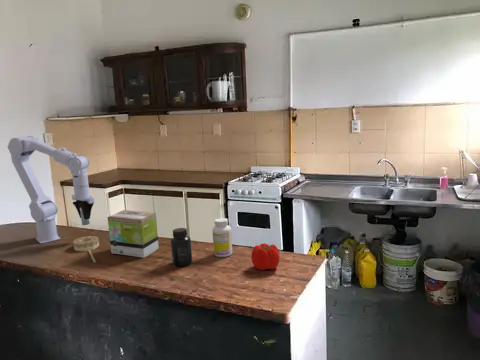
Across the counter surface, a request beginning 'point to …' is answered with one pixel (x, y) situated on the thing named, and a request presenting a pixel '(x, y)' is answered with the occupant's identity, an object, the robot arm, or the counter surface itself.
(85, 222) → the white-tipped blue cylinder
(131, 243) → the tea box
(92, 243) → the bead
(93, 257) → the strip
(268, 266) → the red bell pepper
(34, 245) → the counter surface
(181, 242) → the supplement bottle
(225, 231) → the supplement bottle
